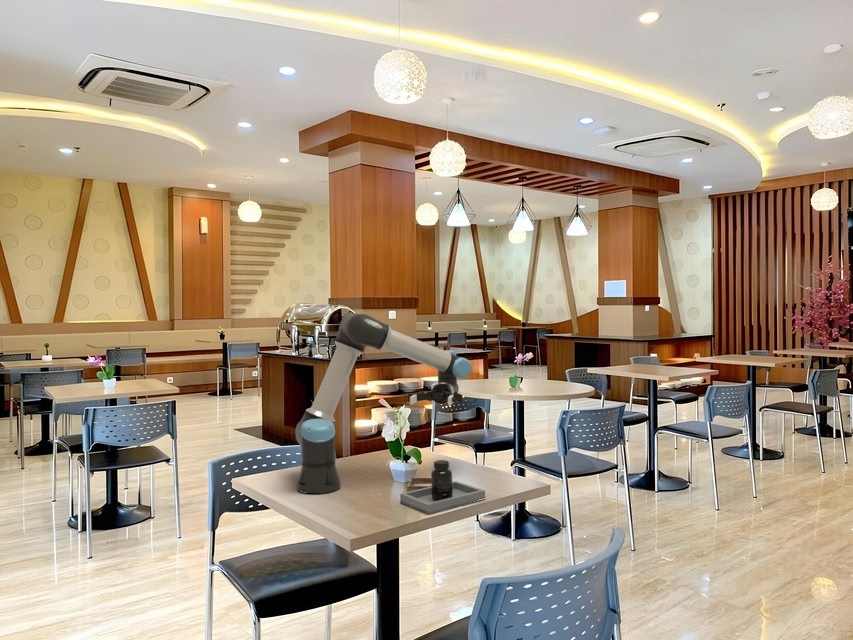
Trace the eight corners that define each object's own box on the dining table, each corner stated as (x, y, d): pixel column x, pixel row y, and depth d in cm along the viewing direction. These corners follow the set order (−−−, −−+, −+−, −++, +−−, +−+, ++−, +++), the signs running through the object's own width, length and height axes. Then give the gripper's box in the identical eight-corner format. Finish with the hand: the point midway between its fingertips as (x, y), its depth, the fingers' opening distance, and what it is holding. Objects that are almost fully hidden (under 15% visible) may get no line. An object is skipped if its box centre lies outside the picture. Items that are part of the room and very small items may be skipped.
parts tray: (400, 502, 199) (400, 493, 199) (455, 489, 213) (455, 480, 213) (428, 514, 187) (428, 504, 187) (485, 499, 201) (485, 490, 201)
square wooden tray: (410, 482, 222) (410, 477, 222) (440, 482, 221) (440, 477, 221) (407, 491, 211) (407, 486, 211) (439, 491, 210) (439, 486, 210)
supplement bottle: (429, 496, 203) (429, 459, 202) (449, 494, 204) (449, 458, 204) (434, 502, 196) (433, 465, 196) (454, 501, 197) (454, 463, 197)
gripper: (474, 403, 234) (465, 412, 214) (411, 402, 240) (395, 411, 219) (474, 383, 234) (464, 390, 213) (410, 382, 240) (395, 390, 219)
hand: (429, 401), depth 216 cm, fingers open, 13 cm apart
